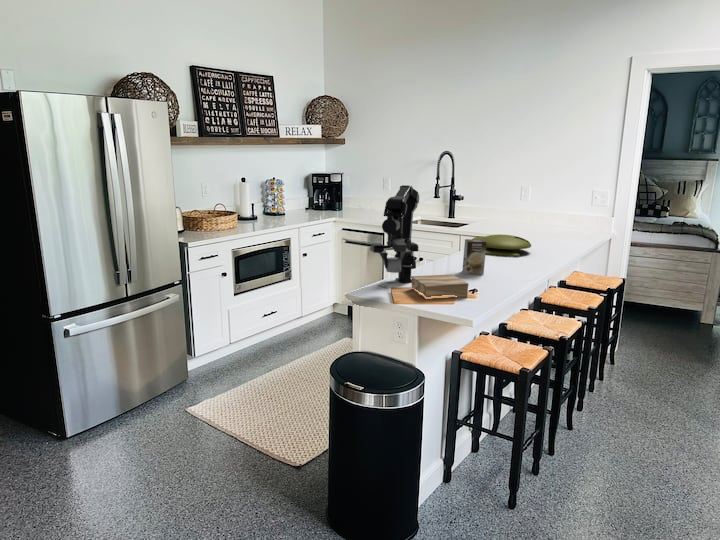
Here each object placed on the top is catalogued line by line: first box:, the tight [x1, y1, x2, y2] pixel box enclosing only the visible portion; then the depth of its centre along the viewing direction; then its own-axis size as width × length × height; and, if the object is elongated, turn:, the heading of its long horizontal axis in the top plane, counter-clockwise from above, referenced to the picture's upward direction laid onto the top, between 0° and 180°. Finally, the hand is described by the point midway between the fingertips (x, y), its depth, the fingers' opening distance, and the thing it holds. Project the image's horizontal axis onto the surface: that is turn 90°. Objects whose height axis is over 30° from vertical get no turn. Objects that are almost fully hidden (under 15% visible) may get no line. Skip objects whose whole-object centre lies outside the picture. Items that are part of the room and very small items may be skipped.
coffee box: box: [462, 238, 487, 276], centre depth 254 cm, size 9×6×16 cm
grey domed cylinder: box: [385, 256, 402, 274], centre depth 214 cm, size 6×6×5 cm
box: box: [411, 278, 469, 299], centre depth 219 cm, size 16×18×5 cm
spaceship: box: [472, 234, 532, 258], centre depth 311 cm, size 35×31×10 cm
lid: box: [411, 273, 469, 287], centre depth 218 cm, size 16×18×1 cm
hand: (393, 268), depth 214 cm, fingers closed on grey domed cylinder, 6 cm apart
